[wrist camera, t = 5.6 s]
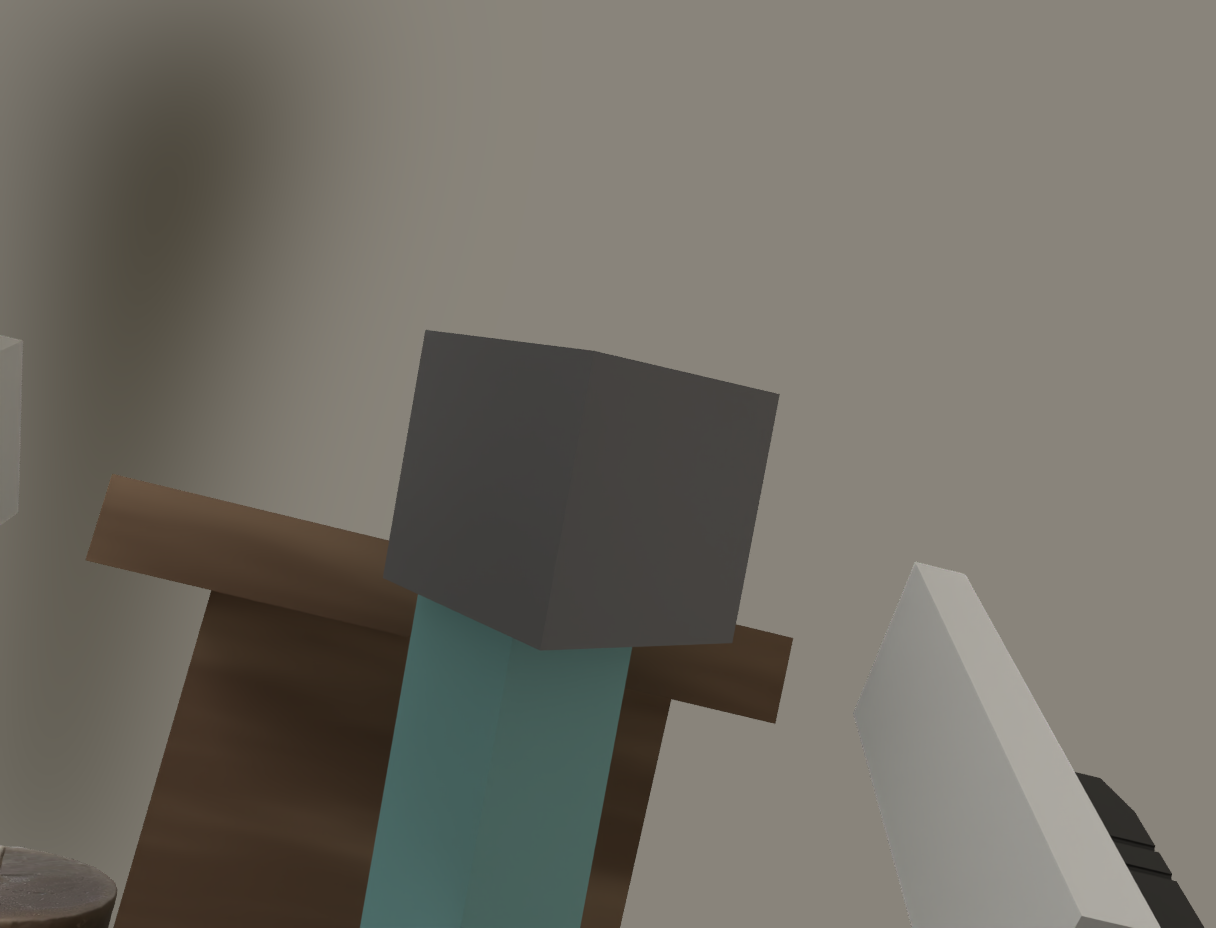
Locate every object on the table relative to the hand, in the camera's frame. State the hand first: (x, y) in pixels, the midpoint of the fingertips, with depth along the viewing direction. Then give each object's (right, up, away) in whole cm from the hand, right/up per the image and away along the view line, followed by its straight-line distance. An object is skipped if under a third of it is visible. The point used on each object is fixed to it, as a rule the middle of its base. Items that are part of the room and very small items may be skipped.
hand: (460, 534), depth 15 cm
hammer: (-2, -8, +8) cm, 11 cm away
